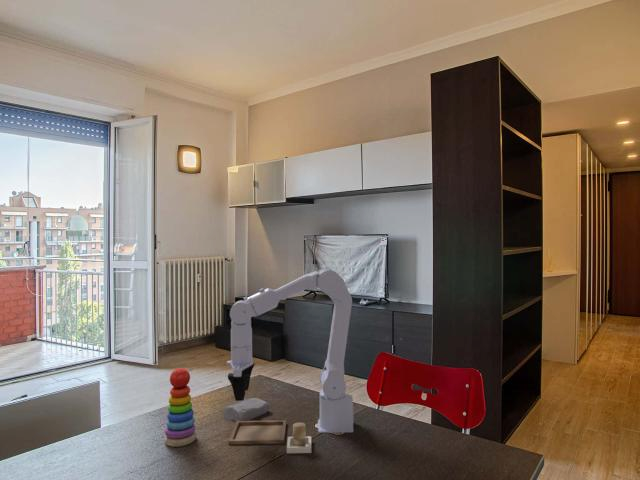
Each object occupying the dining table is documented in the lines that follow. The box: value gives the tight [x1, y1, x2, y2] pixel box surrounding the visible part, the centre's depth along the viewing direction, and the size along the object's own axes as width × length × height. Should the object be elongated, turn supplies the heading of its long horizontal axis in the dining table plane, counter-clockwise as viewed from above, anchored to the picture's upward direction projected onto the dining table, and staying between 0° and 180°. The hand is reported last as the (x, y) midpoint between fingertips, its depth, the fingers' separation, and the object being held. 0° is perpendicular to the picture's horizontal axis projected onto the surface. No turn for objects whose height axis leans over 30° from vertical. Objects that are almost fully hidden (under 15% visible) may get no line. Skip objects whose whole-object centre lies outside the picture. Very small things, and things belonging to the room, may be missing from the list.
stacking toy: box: [164, 367, 197, 448], centre depth 112 cm, size 8×8×19 cm
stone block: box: [222, 397, 270, 422], centre depth 129 cm, size 12×5×10 cm
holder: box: [286, 435, 312, 454], centre depth 108 cm, size 6×6×2 cm
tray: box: [228, 419, 287, 446], centre depth 116 cm, size 14×12×1 cm
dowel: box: [292, 422, 307, 446], centre depth 108 cm, size 3×3×6 cm
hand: (242, 394), depth 118 cm, fingers open, 7 cm apart
